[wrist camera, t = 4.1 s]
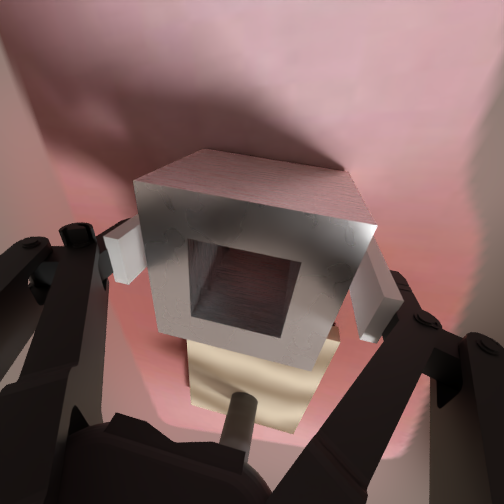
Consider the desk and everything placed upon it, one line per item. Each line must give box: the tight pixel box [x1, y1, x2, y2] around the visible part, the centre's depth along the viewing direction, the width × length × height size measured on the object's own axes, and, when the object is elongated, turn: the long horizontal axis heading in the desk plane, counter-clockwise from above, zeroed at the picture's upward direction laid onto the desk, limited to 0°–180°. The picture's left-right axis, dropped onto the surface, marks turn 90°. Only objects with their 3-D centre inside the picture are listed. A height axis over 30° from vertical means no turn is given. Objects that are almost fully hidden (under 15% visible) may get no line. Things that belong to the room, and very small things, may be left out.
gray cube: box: [133, 148, 377, 371], centre depth 13 cm, size 9×9×7 cm
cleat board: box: [187, 326, 340, 463], centre depth 21 cm, size 18×13×12 cm
